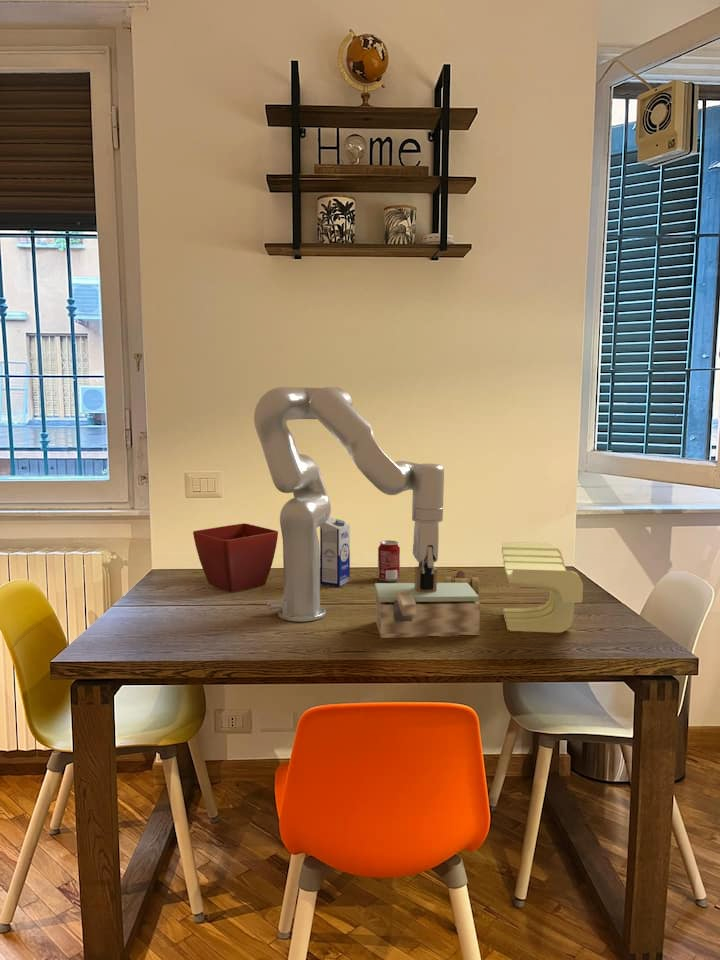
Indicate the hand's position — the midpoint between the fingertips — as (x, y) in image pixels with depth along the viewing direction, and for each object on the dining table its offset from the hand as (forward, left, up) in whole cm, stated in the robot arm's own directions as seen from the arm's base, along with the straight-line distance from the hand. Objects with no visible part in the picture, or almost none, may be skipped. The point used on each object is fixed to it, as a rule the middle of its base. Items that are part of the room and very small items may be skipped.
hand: (425, 586), depth 176 cm
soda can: (-4, +46, -11) cm, 47 cm away
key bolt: (-7, -14, -1) cm, 16 cm away
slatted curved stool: (+29, +2, -11) cm, 31 cm away
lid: (0, 0, -2) cm, 2 cm away
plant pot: (-51, +43, -11) cm, 67 cm away
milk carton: (-21, +43, -11) cm, 49 cm away
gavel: (+18, +40, -12) cm, 46 cm away
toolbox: (0, -2, -11) cm, 11 cm away
